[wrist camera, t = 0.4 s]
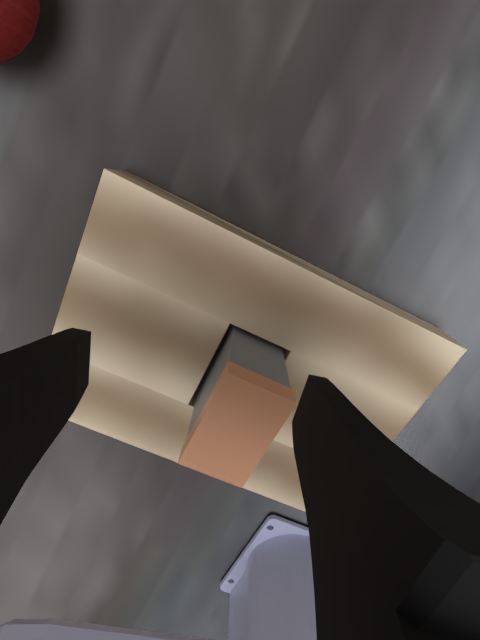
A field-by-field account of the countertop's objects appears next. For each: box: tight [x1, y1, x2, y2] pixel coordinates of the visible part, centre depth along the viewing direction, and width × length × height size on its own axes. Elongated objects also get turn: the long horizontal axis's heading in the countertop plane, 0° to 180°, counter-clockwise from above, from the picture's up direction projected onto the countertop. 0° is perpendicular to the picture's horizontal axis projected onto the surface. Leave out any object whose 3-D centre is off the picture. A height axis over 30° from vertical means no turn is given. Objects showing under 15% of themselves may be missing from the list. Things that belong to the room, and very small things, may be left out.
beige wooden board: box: [52, 169, 467, 512], centre depth 21 cm, size 14×20×3 cm
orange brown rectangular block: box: [178, 323, 297, 488], centre depth 19 cm, size 5×3×7 cm, turn 154°
